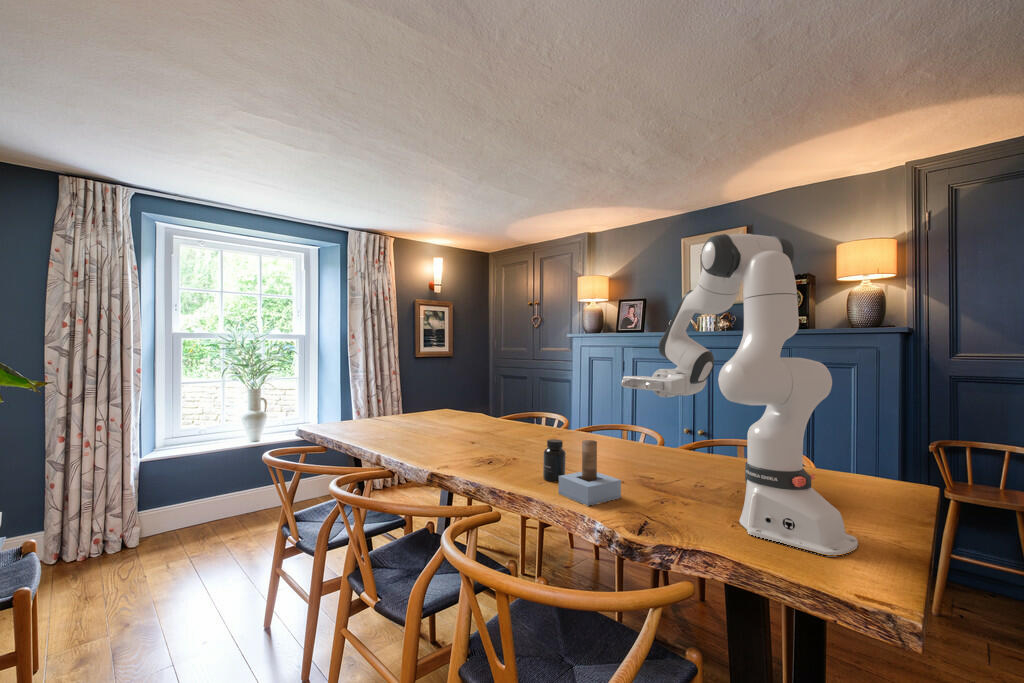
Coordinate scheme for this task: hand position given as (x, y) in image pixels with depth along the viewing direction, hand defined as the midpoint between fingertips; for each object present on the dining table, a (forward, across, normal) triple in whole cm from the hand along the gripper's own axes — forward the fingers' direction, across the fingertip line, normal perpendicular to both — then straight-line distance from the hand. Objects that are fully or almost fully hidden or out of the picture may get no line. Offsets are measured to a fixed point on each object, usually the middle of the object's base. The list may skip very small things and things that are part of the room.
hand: (635, 384), depth 137 cm
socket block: (+18, 0, +30) cm, 35 cm away
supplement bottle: (+16, -18, +30) cm, 39 cm away
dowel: (+18, 0, +29) cm, 34 cm away
